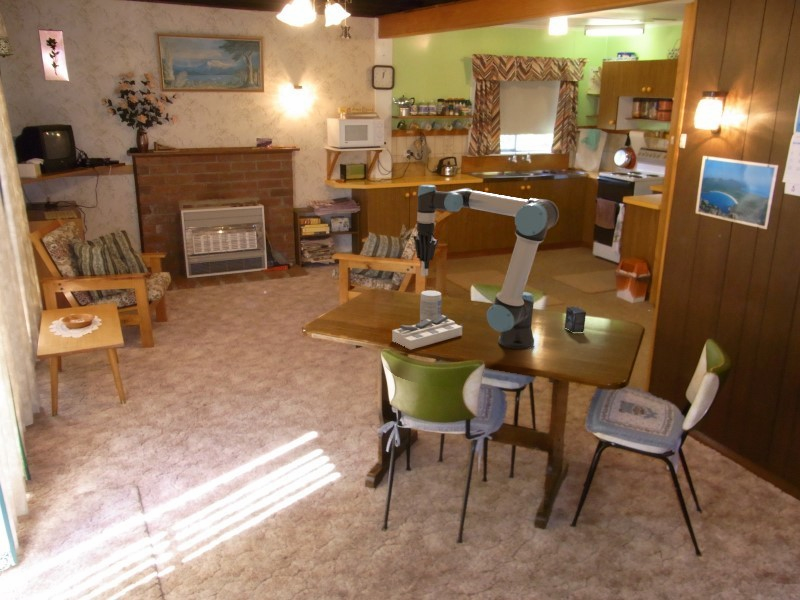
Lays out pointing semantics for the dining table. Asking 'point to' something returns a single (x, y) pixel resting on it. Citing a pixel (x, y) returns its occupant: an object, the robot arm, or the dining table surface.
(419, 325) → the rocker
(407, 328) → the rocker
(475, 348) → the dining table surface
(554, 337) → the dining table surface
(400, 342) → the power strip
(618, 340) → the dining table surface
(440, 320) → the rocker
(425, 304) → the supplement tub
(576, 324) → the box
